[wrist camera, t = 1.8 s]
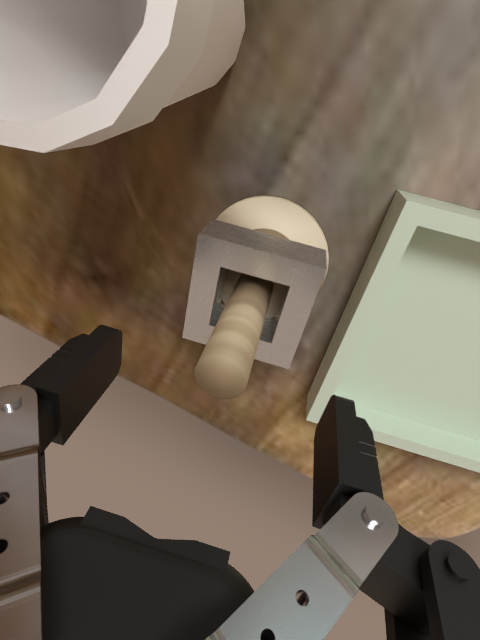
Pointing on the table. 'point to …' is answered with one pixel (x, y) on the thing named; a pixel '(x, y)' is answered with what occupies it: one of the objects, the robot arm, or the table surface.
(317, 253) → the ring
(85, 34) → the foam cup
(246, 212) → the beige peg stand
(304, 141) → the table surface
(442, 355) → the tray
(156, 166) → the table surface
